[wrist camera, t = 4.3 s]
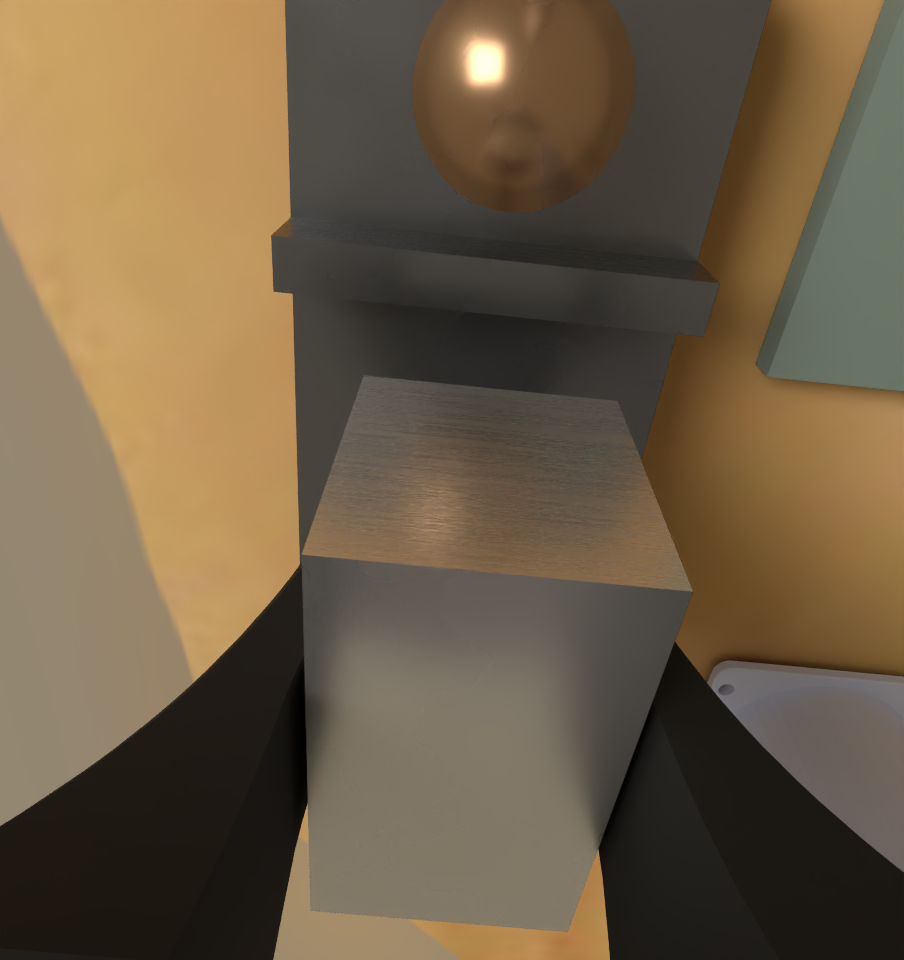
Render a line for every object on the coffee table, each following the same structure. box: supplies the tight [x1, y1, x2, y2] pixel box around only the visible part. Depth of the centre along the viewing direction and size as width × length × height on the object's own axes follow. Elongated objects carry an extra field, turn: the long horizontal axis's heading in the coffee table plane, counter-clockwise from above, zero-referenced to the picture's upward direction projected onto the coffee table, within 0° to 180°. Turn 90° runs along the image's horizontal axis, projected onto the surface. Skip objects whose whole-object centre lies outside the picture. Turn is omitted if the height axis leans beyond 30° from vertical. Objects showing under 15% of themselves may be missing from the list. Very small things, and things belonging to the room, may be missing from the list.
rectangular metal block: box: [302, 376, 693, 932], centre depth 11 cm, size 7×4×4 cm, turn 175°
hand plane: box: [271, 0, 771, 564], centre depth 16 cm, size 20×8×6 cm, turn 174°
